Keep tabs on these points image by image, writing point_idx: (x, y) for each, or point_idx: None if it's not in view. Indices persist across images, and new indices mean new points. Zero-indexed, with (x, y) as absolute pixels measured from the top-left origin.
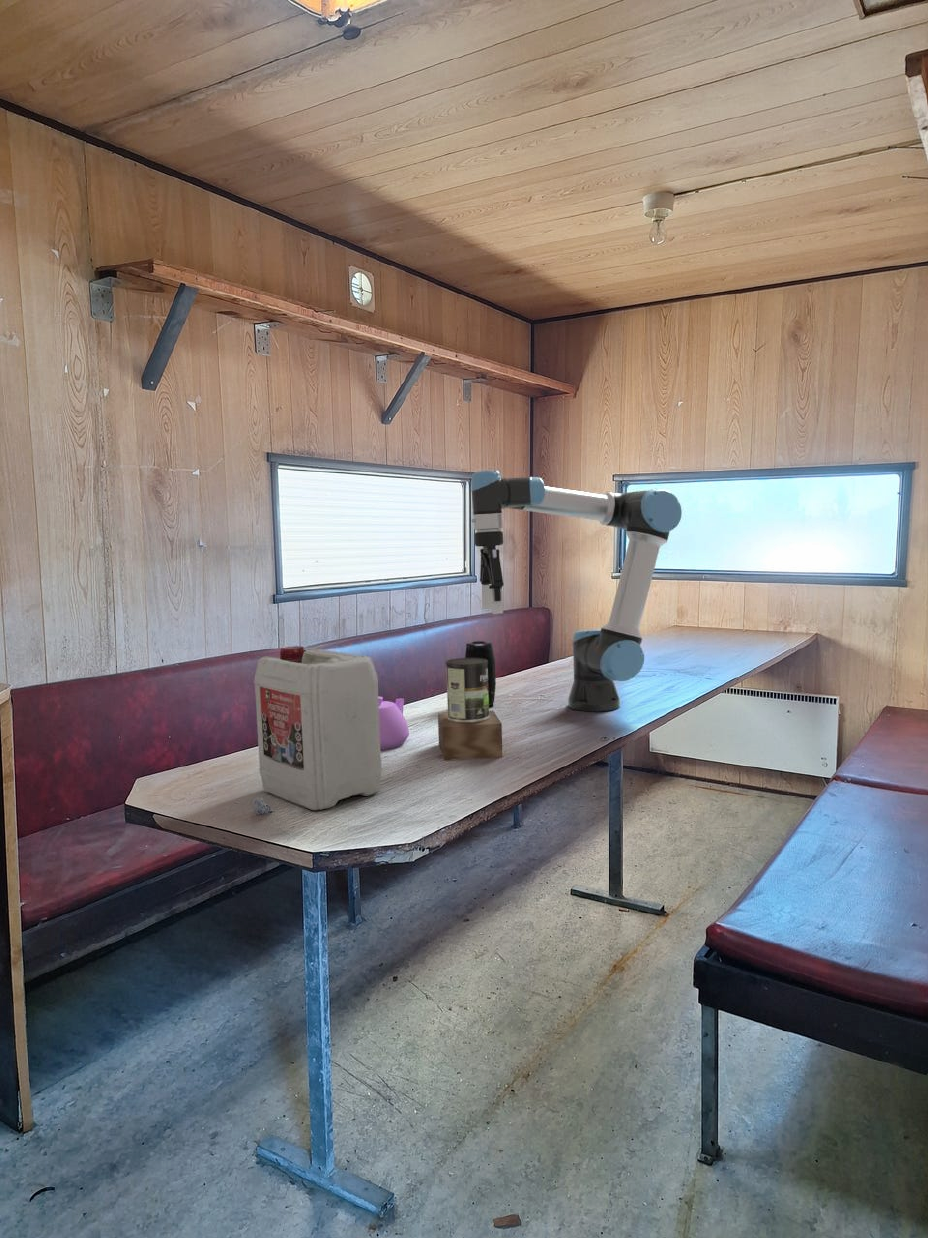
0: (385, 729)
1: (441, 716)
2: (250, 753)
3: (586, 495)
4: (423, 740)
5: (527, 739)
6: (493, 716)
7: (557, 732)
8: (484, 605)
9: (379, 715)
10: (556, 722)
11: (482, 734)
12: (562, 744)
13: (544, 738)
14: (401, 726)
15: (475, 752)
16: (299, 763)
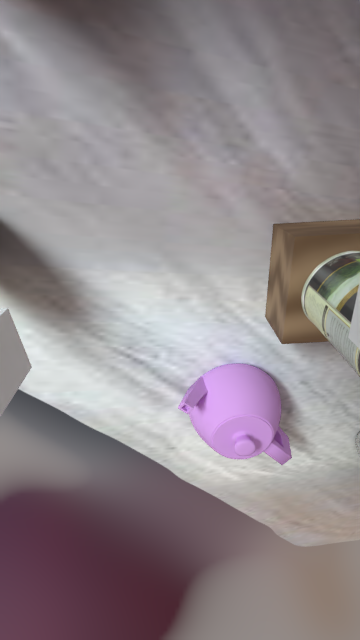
0: (280, 404)
1: (308, 338)
2: (238, 502)
3: None
4: (231, 338)
5: (277, 150)
6: (351, 241)
7: (238, 58)
8: (18, 376)
9: (276, 426)
10: (137, 37)
11: None
12: (343, 69)
13: (281, 106)
14: (265, 384)
15: None
16: None
